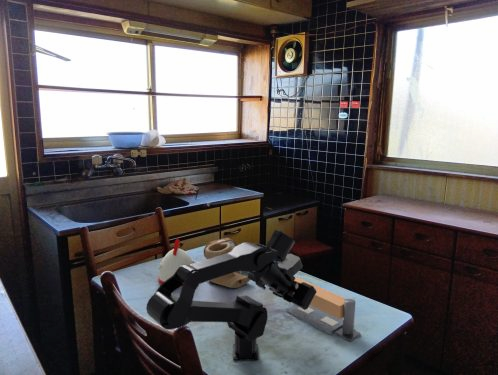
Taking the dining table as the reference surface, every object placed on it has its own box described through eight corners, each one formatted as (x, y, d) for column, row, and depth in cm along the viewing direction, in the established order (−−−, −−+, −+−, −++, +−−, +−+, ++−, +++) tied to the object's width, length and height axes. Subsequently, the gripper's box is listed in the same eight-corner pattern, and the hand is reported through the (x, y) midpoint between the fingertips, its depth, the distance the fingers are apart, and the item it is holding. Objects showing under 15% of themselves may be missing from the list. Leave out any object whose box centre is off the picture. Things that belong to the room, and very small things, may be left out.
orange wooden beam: (357, 330, 108) (359, 300, 106) (347, 337, 104) (349, 306, 103) (294, 299, 125) (295, 273, 124) (283, 304, 122) (284, 277, 120)
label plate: (350, 322, 113) (351, 318, 113) (330, 335, 107) (330, 331, 107) (307, 301, 126) (307, 297, 126) (286, 311, 119) (286, 307, 119)
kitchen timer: (198, 271, 149) (197, 235, 146) (192, 287, 135) (191, 247, 133) (163, 271, 149) (162, 234, 146) (154, 286, 136) (152, 247, 133)
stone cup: (198, 283, 139) (197, 244, 136) (220, 272, 148) (220, 235, 145) (229, 295, 130) (229, 254, 127) (251, 283, 139) (251, 244, 136)
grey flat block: (360, 335, 107) (360, 333, 107) (350, 341, 104) (350, 339, 104) (345, 327, 111) (345, 325, 111) (335, 334, 108) (335, 332, 107)
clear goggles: (232, 253, 168) (232, 235, 166) (236, 255, 166) (236, 237, 164) (203, 261, 159) (202, 242, 157) (207, 263, 157) (207, 244, 155)
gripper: (313, 258, 96) (337, 286, 106) (263, 240, 110) (288, 265, 119) (291, 297, 93) (318, 322, 102) (242, 272, 107) (269, 296, 116)
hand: (297, 299), depth 110 cm, fingers closed
